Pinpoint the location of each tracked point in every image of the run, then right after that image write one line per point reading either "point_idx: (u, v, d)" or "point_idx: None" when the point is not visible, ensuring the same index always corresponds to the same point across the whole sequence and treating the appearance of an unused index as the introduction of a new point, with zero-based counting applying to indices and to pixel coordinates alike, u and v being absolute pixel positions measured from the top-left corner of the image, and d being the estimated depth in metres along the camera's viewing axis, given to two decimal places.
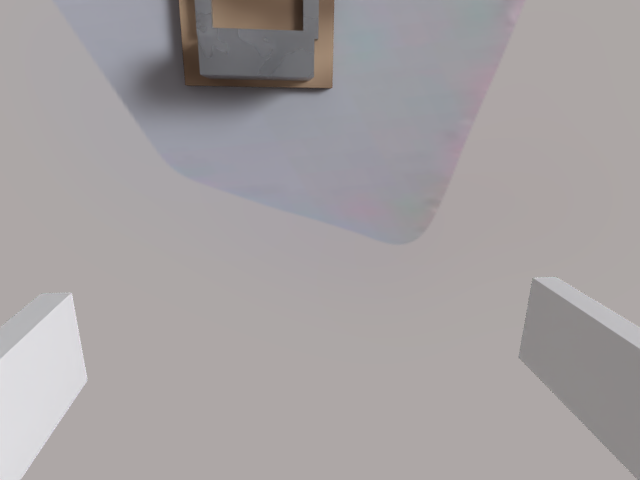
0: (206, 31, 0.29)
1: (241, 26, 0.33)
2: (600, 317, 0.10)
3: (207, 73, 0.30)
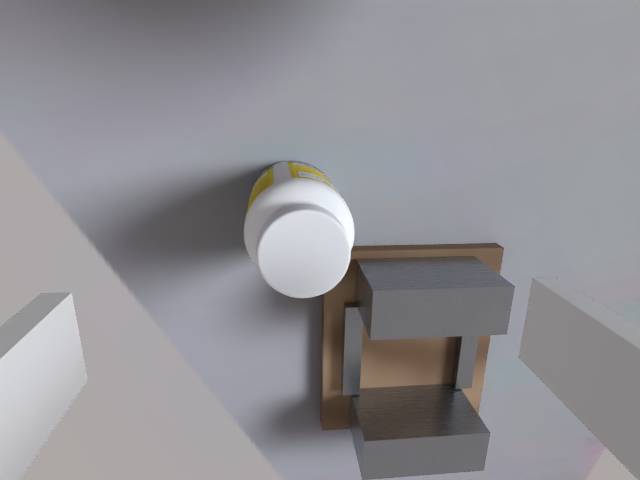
0: (374, 444, 0.26)
1: (387, 375, 0.30)
2: (600, 317, 0.10)
3: (370, 478, 0.27)
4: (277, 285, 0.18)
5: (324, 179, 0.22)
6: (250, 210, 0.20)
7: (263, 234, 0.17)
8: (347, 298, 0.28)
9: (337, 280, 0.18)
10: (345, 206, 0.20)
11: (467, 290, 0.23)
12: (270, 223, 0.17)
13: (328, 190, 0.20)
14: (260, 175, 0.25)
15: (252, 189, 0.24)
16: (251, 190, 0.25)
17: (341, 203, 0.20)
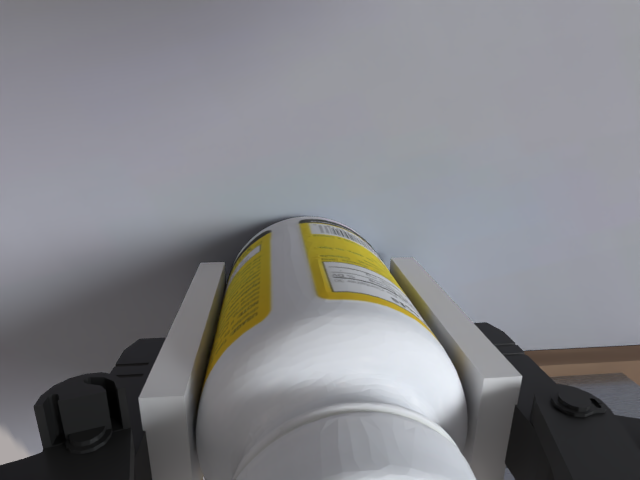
0: None
1: None
2: (421, 288, 0.12)
3: None
4: None
5: (383, 277, 0.10)
6: (210, 389, 0.08)
7: None
8: None
9: None
10: (452, 372, 0.08)
11: None
12: None
13: (413, 336, 0.08)
14: (246, 246, 0.13)
15: (230, 278, 0.12)
16: (229, 274, 0.13)
17: (446, 369, 0.08)
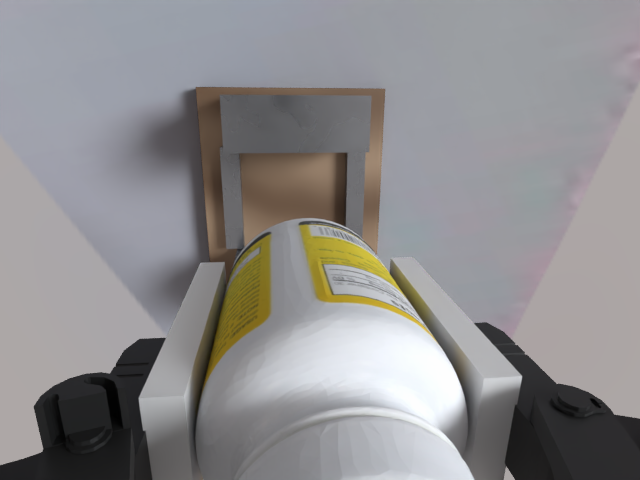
0: None
1: None
2: (421, 288, 0.12)
3: None
4: None
5: (383, 280, 0.10)
6: (209, 393, 0.07)
7: None
8: None
9: None
10: (453, 375, 0.08)
11: (321, 97, 0.22)
12: None
13: (413, 338, 0.08)
14: (246, 247, 0.13)
15: (229, 280, 0.12)
16: (229, 276, 0.13)
17: (446, 373, 0.08)
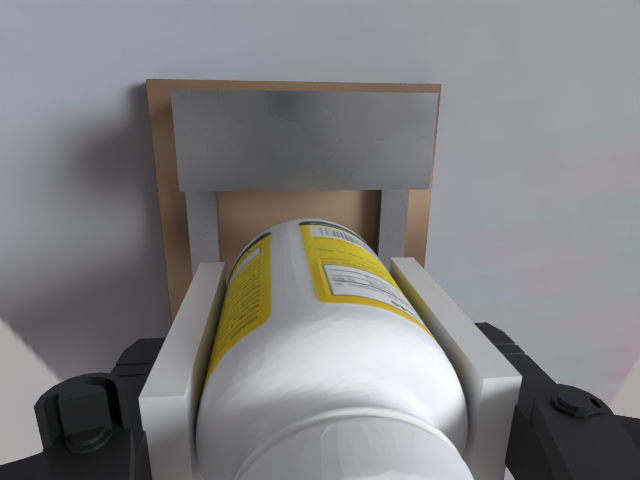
0: None
1: None
2: (421, 288, 0.12)
3: None
4: None
5: (383, 280, 0.10)
6: (210, 393, 0.08)
7: None
8: None
9: None
10: (453, 375, 0.08)
11: (351, 96, 0.13)
12: None
13: (414, 339, 0.08)
14: (246, 248, 0.13)
15: (230, 280, 0.12)
16: (229, 277, 0.13)
17: (446, 373, 0.08)
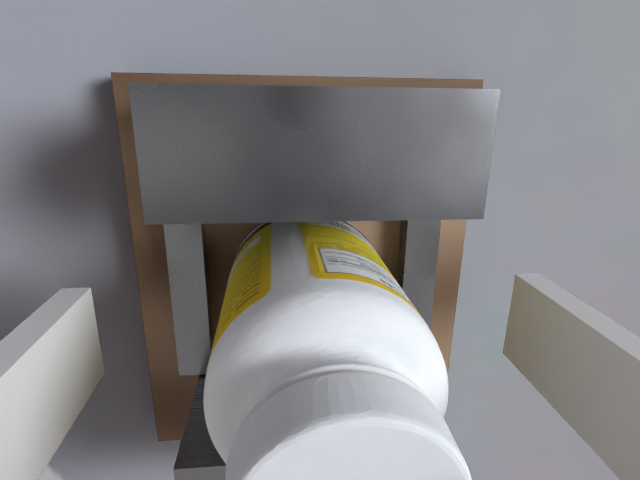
0: (198, 475, 0.12)
1: None
2: (577, 312, 0.10)
3: None
4: None
5: (374, 262, 0.11)
6: (216, 358, 0.08)
7: None
8: None
9: None
10: (433, 343, 0.09)
11: (382, 93, 0.09)
12: (259, 453, 0.06)
13: (398, 310, 0.08)
14: (248, 237, 0.14)
15: (233, 266, 0.13)
16: None
17: (427, 341, 0.09)
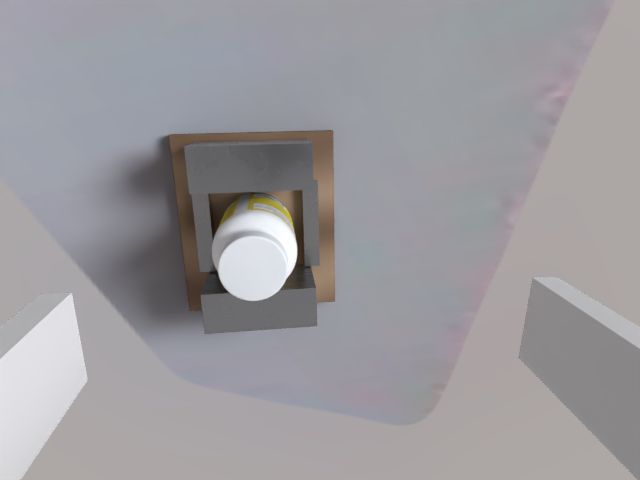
0: (210, 297, 0.29)
1: None
2: (600, 317, 0.10)
3: (212, 332, 0.30)
4: (234, 292, 0.24)
5: (275, 208, 0.28)
6: (215, 236, 0.26)
7: (221, 255, 0.24)
8: None
9: (279, 286, 0.24)
10: (287, 230, 0.26)
11: (270, 146, 0.27)
12: (226, 246, 0.23)
13: (274, 218, 0.26)
14: None
15: None
16: None
17: (284, 228, 0.26)
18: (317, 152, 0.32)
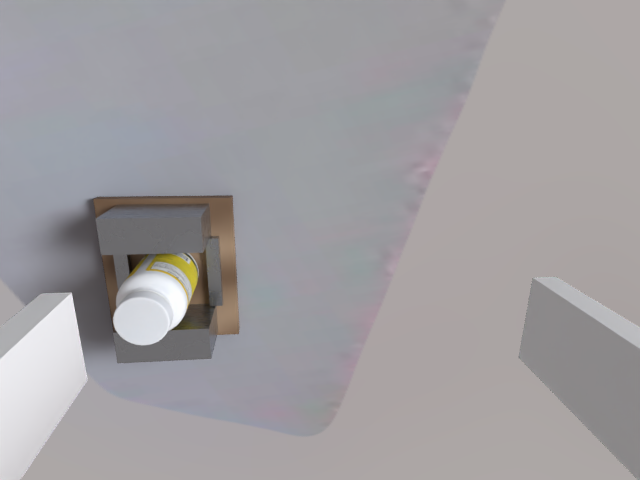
0: None
1: None
2: (600, 317, 0.10)
3: (123, 361, 0.37)
4: (127, 338, 0.31)
5: (173, 266, 0.35)
6: (118, 291, 0.33)
7: (115, 311, 0.30)
8: None
9: (163, 335, 0.31)
10: (176, 287, 0.33)
11: (165, 219, 0.34)
12: (119, 304, 0.30)
13: (165, 278, 0.33)
14: (144, 256, 0.38)
15: None
16: None
17: (173, 286, 0.33)
18: (218, 214, 0.39)
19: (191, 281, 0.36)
